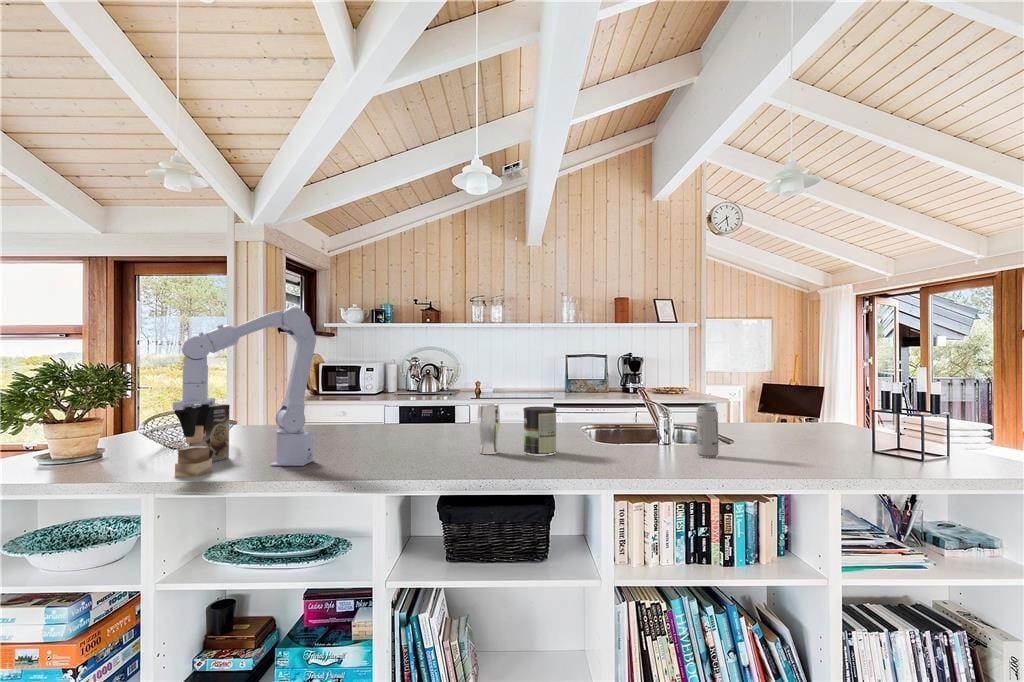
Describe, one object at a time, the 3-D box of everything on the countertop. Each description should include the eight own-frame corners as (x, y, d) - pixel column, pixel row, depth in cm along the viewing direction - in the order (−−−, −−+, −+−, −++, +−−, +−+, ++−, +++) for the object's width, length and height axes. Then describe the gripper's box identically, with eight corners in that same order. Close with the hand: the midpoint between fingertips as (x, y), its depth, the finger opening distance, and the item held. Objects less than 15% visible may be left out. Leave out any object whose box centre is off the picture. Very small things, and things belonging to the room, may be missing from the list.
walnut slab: (209, 459, 144) (209, 446, 144) (195, 463, 139) (195, 449, 139) (192, 459, 145) (192, 446, 145) (177, 463, 140) (178, 449, 140)
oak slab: (211, 472, 145) (211, 459, 145) (197, 477, 139) (197, 463, 139) (190, 472, 145) (190, 459, 145) (174, 477, 139) (175, 463, 139)
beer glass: (499, 455, 167) (499, 406, 167) (476, 455, 167) (476, 406, 167) (500, 451, 174) (500, 403, 174) (478, 451, 174) (478, 404, 174)
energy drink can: (718, 459, 159) (717, 407, 160) (696, 457, 161) (695, 406, 162) (718, 455, 165) (717, 405, 165) (697, 454, 167) (697, 405, 167)
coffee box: (207, 463, 155) (208, 406, 156) (187, 463, 156) (188, 406, 157) (230, 457, 164) (230, 404, 164) (211, 457, 165) (212, 403, 166)
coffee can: (521, 456, 165) (521, 409, 166) (525, 450, 175) (525, 406, 176) (555, 456, 164) (555, 409, 164) (557, 451, 174) (557, 406, 174)
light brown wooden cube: (206, 440, 144) (206, 425, 144) (197, 442, 140) (198, 427, 140) (191, 440, 144) (191, 425, 144) (182, 442, 140) (182, 427, 140)
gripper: (197, 381, 150) (197, 431, 150) (161, 384, 136) (160, 439, 135) (222, 381, 150) (222, 431, 149) (188, 384, 135) (188, 439, 135)
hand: (194, 435), depth 142 cm, fingers closed on light brown wooden cube, 4 cm apart
